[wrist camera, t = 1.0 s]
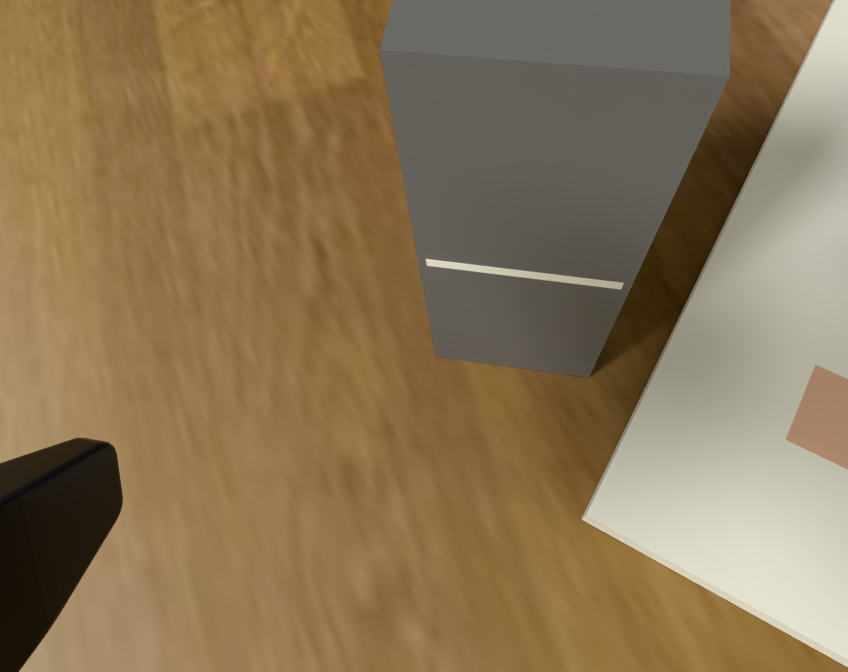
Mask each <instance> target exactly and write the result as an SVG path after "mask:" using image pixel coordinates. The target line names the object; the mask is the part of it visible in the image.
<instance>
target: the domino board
mask: <svg viewBox="0 0 848 672" xmlns="http://www.w3.org/2000/svg"><path fill="white" fill-rule="evenodd" d="M582 520H583V521H585V522H587V523H589V524H591V525H592V526H594V527H596V528H598V529H600V530H601V531H603V532H605V533H607V534H609V535H610V536H612V537H614V538H616V539H618V540H619V541H621V542H623V543H625V544H627V545H628V546H630V547H632V548H634V549H636V550H637V551H639V552H641V553H643V554H645V555H646V556H648V557H650V558H652V559H654V560H655V561H657V562H659V563H661V564H663V565H664V566H666V567H668V568H670V569H672V570H673V571H675V572H677V573H679V574H681V575H682V576H684V577H686V578H688V579H690V580H691V581H693V582H695V583H697V584H699V585H700V586H702V587H704V588H706V589H708V590H709V591H711V592H713V593H715V594H717V595H718V596H720V597H722V598H724V599H726V600H728V601H729V602H731V603H733V604H735V605H737V606H738V607H740V608H742V609H744V610H746V611H747V612H749V613H751V614H753V615H755V616H756V617H758V618H760V619H762V620H764V621H765V622H767V623H769V624H771V625H773V626H774V627H776V628H778V629H780V630H782V631H783V632H785V633H787V634H789V635H791V636H792V637H794V638H796V639H798V640H800V641H801V642H803V643H805V644H807V645H809V646H810V647H812V648H814V649H816V650H818V651H819V652H821V653H823V654H825V655H827V656H828V657H830V658H832V659H834V660H836V661H837V662H839V663H841V664H843V665H845V666H846V667H848V0H833V1H832V3H831V5H830V7H829V9H828V11H827V13H826V15H825V17H824V19H823V21H822V23H821V25H820V28H819V30H818V32H817V34H816V36H815V38H814V40H813V42H812V44H811V46H810V48H809V50H808V52H807V54H806V56H805V58H804V61H803V63H802V65H801V67H800V69H799V71H798V73H797V75H796V77H795V79H794V81H793V83H792V85H791V87H790V89H789V91H788V94H787V96H786V98H785V100H784V102H783V104H782V106H781V108H780V110H779V112H778V114H777V116H776V118H775V120H774V122H773V125H772V127H771V129H770V131H769V133H768V135H767V137H766V139H765V141H764V143H763V145H762V147H761V149H760V151H759V153H758V155H757V158H756V160H755V162H754V164H753V166H752V168H751V170H750V172H749V174H748V176H747V178H746V180H745V182H744V184H743V186H742V188H741V191H740V193H739V195H738V197H737V199H736V201H735V203H734V205H733V207H732V209H731V211H730V213H729V215H728V217H727V219H726V221H725V224H724V226H723V228H722V230H721V232H720V234H719V236H718V238H717V240H716V242H715V244H714V246H713V248H712V250H711V252H710V255H709V257H708V259H707V261H706V263H705V265H704V267H703V269H702V271H701V273H700V275H699V277H698V279H697V281H696V283H695V285H694V288H693V290H692V292H691V294H690V296H689V298H688V300H687V302H686V304H685V306H684V308H683V310H682V312H681V314H680V316H679V318H678V321H677V323H676V325H675V327H674V329H673V331H672V333H671V335H670V337H669V339H668V341H667V343H666V345H665V347H664V349H663V351H662V354H661V356H660V358H659V360H658V362H657V364H656V366H655V368H654V370H653V372H652V374H651V376H650V378H649V380H648V382H647V385H646V387H645V389H644V391H643V393H642V395H641V397H640V399H639V401H638V403H637V405H636V407H635V409H634V411H633V413H632V415H631V418H630V420H629V422H628V424H627V426H626V428H625V430H624V432H623V434H622V436H621V438H620V440H619V442H618V444H617V446H616V448H615V451H614V453H613V455H612V457H611V459H610V461H609V463H608V465H607V467H606V469H605V471H604V473H603V475H602V477H601V479H600V481H599V484H598V486H597V488H596V490H595V492H594V494H593V496H592V498H591V500H590V502H589V504H588V506H587V508H586V510H585V512H584V514H583V517H582Z"/></svg>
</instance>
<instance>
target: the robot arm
mask: <svg viewBox="0 0 848 672" xmlns="http://www.w3.org/2000/svg"><path fill="white" fill-rule="evenodd" d="M122 502H123V495H122V488H121V481H120V473H119V466H118V459H117V453H116V450H115V448H114V447H113V445H111V444H110V443H108V442H105V441H99V440H93V439H88V438H75V439H72V440H69V441H66V442H63V443H60V444H57V445H54V446H51V447H48V448H45V449H42V450H39V451H36V452H33V453H30V454H27V455H24V456H21V457H18V458H15V459H12V460H9V461H6V462H3V463H0V672H19V671H20V669H21V668H22V667H23V665H24V664H25V663H26V661H27V660H28V659H29V657H30V656H31V655H32V653H33V652H34V651H35V649H36V648H37V646H38V645H39V644H40V642H41V641H42V639H43V638H44V637H45V635H46V634H47V632H48V631H49V629H50V628H51V626H52V625H53V623H54V622H55V620H56V619H57V617H58V616H59V614H60V613H61V611H62V609H63V608H64V606H65V604H66V603H67V601H68V600H69V598H70V596H71V595H72V593H73V591H74V590H75V588H76V586H77V585H78V583H79V581H80V580H81V578H82V576H83V575H84V573H85V572H86V570H87V568H88V567H89V565H90V563H91V562H92V560H93V558H94V557H95V555H96V553H97V552H98V550H99V548H100V547H101V545H102V543H103V542H104V540H105V539H106V537H107V535H108V534H109V532H110V530H111V529H112V527H113V525H114V524H115V522H116V520H117V518H118V516H119V514H120V511H121V508H122Z"/></svg>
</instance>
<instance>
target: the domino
mask: <svg viewBox="0 0 848 672" xmlns="http://www.w3.org/2000/svg"><path fill="white" fill-rule="evenodd" d="M730 22H731V0H393V2H392V6H391V9H390V13H389V17H388V21H387V24H386V28H385V32H384V35H383V39H382V43H381V47H380V55H381V60H382V65H383V71H384V76H385V82H386V87H387V93H388V98H389V104H390V109H391V115H392V120H393V126H394V131H395V137H396V142H397V148H398V153H399V159H400V164H401V169H402V175H403V180H404V186H405V191H406V197H407V202H408V208H409V213H410V219H411V224H412V230H413V235H414V241H415V246H416V252H417V257H418V263H419V268H420V273H421V279H422V284H423V290H424V295H425V301H426V306H427V312H428V317H429V323H430V328H431V334H432V339H433V345H434V350H435V356H438V357H445V358H452V359H459V360H466V361H473V362H480V363H487V364H494V365H501V366H508V367H515V368H522V369H529V370H537V371H544V372H551V373H558V374H565V375H572V376H579V377H586V378H589V377H590V374H591V372H592V370H593V368H594V366H595V364H596V362H597V359H598V357H599V355H600V353H601V351H602V349H603V347H604V344H605V342H606V340H607V338H608V336H609V334H610V332H611V330H612V327H613V325H614V323H615V321H616V319H617V317H618V315H619V312H620V310H621V308H622V306H623V304H624V302H625V300H626V297H627V295H628V293H629V291H630V289H631V287H632V285H633V282H634V280H635V278H636V276H637V274H638V272H639V270H640V267H641V265H642V263H643V261H644V259H645V257H646V255H647V252H648V250H649V248H650V246H651V244H652V242H653V240H654V238H655V235H656V233H657V231H658V229H659V227H660V225H661V223H662V220H663V218H664V216H665V214H666V212H667V210H668V208H669V205H670V203H671V201H672V199H673V197H674V195H675V193H676V190H677V188H678V186H679V184H680V182H681V180H682V178H683V175H684V173H685V171H686V169H687V167H688V165H689V163H690V160H691V158H692V156H693V154H694V152H695V150H696V148H697V146H698V143H699V141H700V139H701V137H702V135H703V133H704V131H705V128H706V126H707V124H708V122H709V120H710V118H711V116H712V113H713V111H714V109H715V107H716V105H717V103H718V101H719V98H720V96H721V94H722V92H723V90H724V88H725V86H726V83H727V81H728V79H729V77H730Z"/></svg>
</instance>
